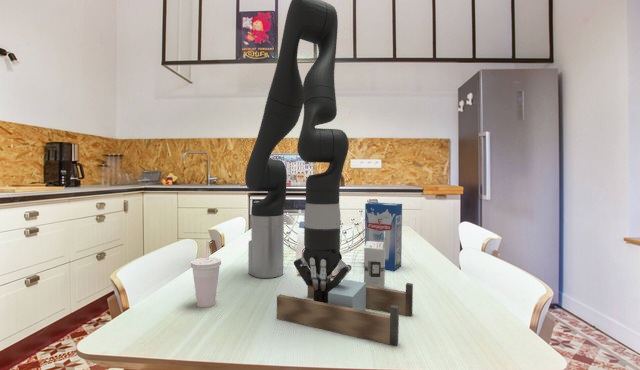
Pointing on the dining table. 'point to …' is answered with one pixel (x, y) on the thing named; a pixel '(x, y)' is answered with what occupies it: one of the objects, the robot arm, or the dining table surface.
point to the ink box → (374, 263)
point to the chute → (352, 313)
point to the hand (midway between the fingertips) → (321, 306)
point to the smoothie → (206, 278)
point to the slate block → (349, 295)
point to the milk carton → (389, 221)
